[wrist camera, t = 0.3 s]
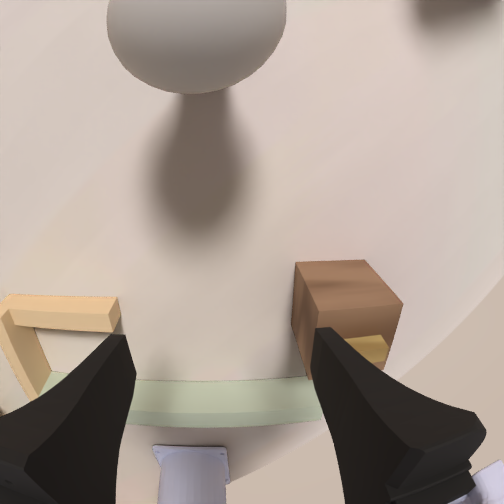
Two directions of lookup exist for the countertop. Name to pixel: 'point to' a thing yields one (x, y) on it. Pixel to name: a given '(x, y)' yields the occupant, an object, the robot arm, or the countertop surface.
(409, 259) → the countertop surface
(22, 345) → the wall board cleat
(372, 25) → the countertop surface
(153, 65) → the lightbulb
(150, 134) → the countertop surface
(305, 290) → the cabinet block
